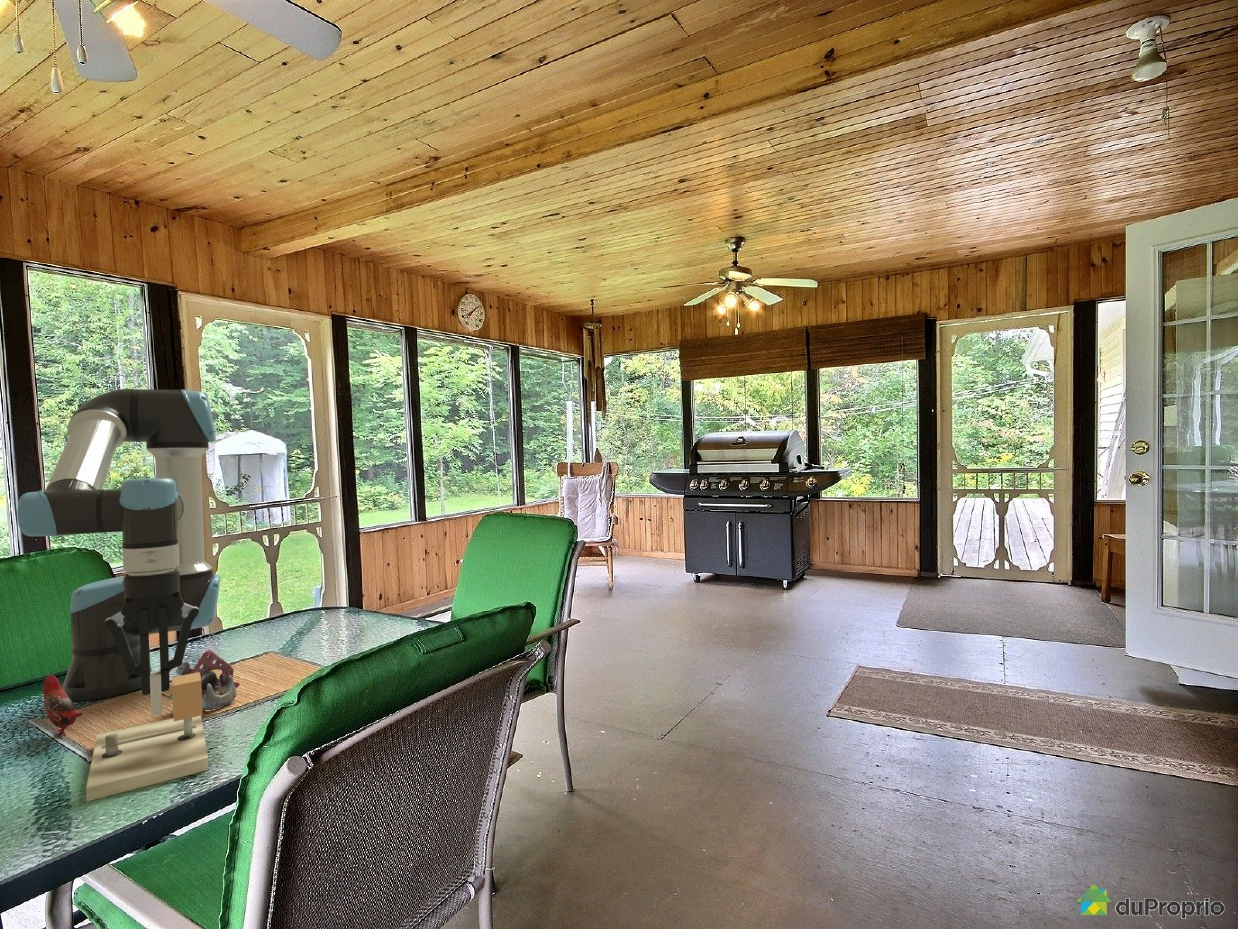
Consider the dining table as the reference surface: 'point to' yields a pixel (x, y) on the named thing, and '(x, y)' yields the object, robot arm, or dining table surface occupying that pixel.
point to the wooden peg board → (145, 756)
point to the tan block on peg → (187, 699)
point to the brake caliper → (212, 680)
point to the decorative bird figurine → (58, 704)
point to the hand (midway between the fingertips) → (156, 711)
